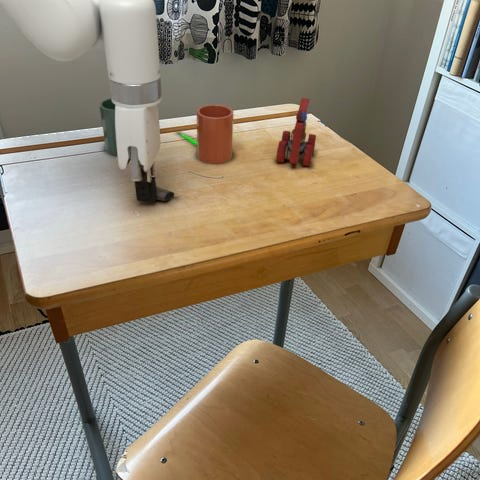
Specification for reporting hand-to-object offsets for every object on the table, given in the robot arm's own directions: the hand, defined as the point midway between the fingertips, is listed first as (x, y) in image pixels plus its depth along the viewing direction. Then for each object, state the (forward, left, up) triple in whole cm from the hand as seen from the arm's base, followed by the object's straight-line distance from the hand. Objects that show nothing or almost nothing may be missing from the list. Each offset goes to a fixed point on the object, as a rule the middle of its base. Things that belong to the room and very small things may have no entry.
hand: (147, 199), depth 89 cm
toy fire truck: (+26, +23, -1) cm, 35 cm away
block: (+1, +3, -1) cm, 3 cm away
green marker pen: (+5, +26, -2) cm, 26 cm away
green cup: (-10, +21, -1) cm, 23 cm away
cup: (+9, +21, -1) cm, 23 cm away
